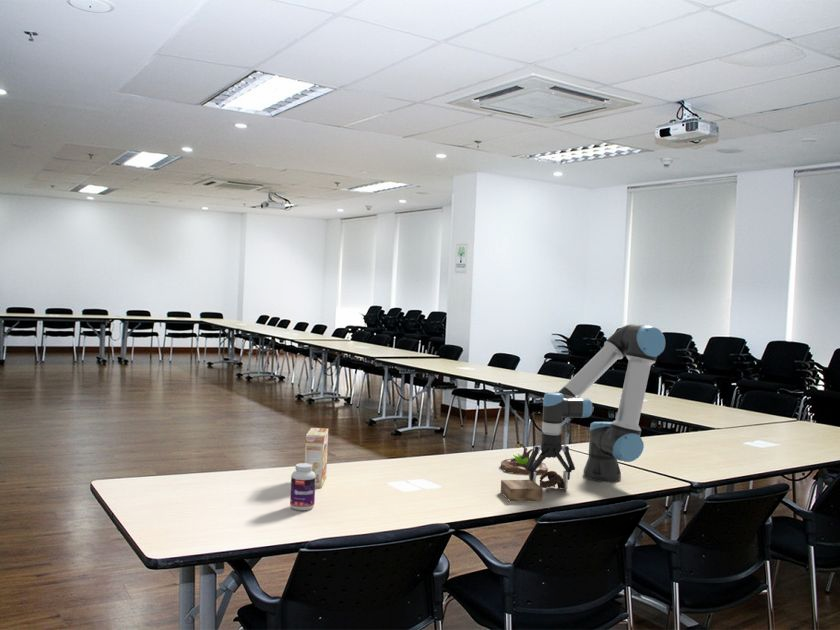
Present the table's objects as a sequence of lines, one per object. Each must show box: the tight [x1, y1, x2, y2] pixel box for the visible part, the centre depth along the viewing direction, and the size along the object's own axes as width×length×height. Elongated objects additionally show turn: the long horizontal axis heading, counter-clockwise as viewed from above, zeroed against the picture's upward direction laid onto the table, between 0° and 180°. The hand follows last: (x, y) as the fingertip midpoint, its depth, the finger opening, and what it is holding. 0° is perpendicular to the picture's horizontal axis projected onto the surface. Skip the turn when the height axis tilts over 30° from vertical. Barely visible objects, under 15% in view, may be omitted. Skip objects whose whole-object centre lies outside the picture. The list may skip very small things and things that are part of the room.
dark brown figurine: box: [539, 470, 567, 493], centre depth 275 cm, size 12×10×8 cm
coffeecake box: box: [304, 427, 329, 489], centre depth 271 cm, size 15×7×20 cm, turn 0°
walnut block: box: [500, 479, 544, 502], centre depth 263 cm, size 12×12×5 cm
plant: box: [500, 443, 549, 476], centre depth 306 cm, size 20×20×11 cm
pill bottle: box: [289, 462, 316, 512], centre depth 239 cm, size 8×8×14 cm
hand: (549, 488), depth 276 cm, fingers open, 12 cm apart
